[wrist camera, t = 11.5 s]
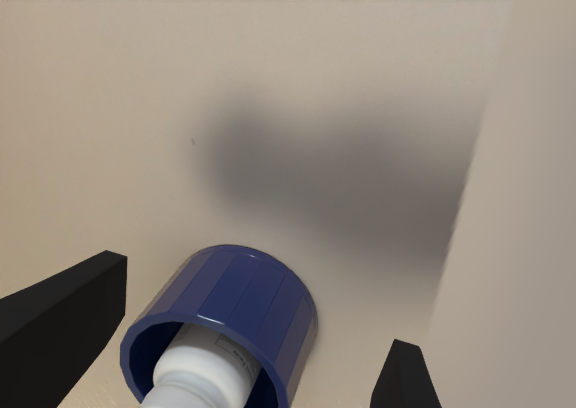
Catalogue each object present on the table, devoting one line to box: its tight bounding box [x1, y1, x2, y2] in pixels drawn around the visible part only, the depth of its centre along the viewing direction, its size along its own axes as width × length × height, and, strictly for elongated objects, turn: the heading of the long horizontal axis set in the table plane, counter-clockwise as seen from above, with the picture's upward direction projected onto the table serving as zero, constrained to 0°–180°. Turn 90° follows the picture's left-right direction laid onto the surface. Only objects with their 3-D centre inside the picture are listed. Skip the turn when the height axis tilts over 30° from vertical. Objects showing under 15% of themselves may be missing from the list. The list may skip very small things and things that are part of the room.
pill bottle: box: [139, 322, 262, 408], centre depth 23 cm, size 4×4×8 cm
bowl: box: [120, 245, 317, 408], centre depth 25 cm, size 8×8×6 cm
